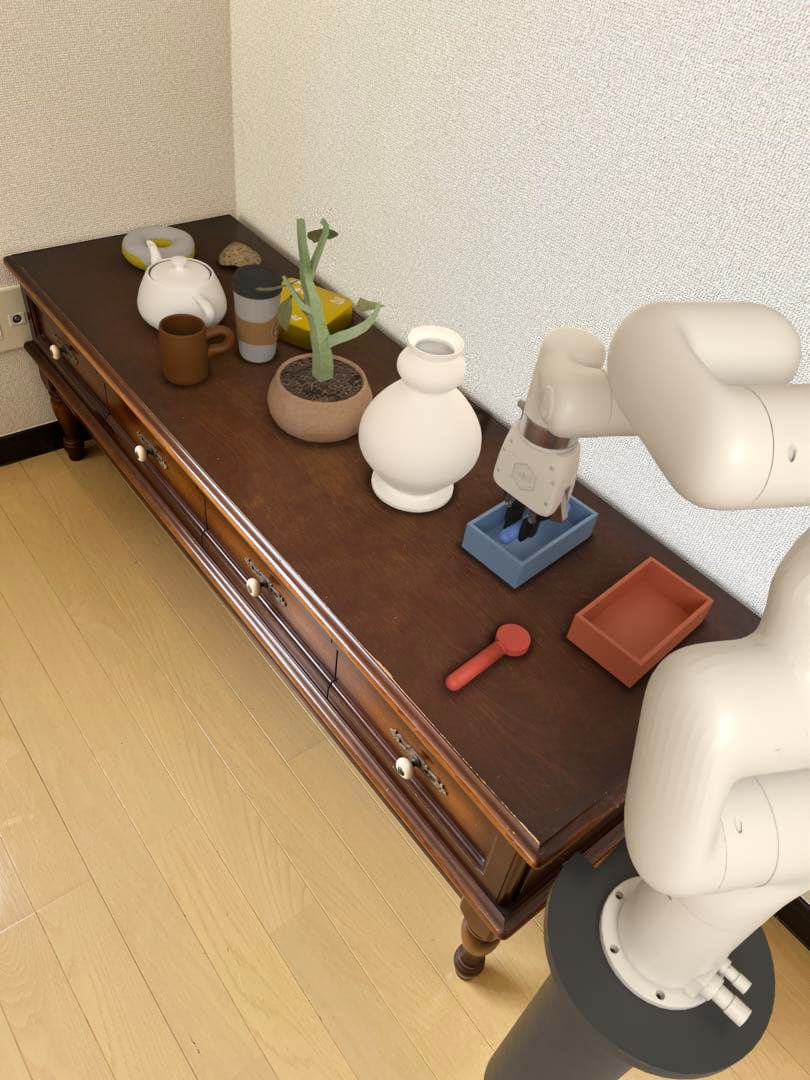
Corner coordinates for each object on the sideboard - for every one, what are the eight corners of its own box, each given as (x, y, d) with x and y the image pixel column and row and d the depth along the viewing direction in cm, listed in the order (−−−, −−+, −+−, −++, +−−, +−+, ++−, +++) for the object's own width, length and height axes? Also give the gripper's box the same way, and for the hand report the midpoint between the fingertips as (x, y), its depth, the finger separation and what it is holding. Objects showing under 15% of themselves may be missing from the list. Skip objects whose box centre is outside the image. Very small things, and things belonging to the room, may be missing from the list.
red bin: (640, 578, 116) (650, 556, 113) (701, 622, 111) (714, 600, 108) (565, 637, 107) (575, 614, 103) (629, 688, 102) (641, 666, 99)
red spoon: (459, 703, 97) (462, 693, 96) (433, 679, 99) (436, 669, 98) (535, 645, 105) (539, 635, 104) (510, 623, 107) (513, 614, 106)
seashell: (247, 268, 162) (217, 241, 162) (238, 289, 167) (209, 262, 167) (272, 255, 168) (243, 228, 168) (263, 275, 172) (235, 249, 172)
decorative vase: (390, 538, 116) (413, 390, 98) (333, 464, 126) (344, 318, 109) (492, 505, 124) (529, 362, 106) (430, 437, 134) (455, 297, 116)
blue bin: (537, 499, 126) (544, 476, 123) (589, 536, 121) (598, 513, 118) (461, 546, 116) (466, 523, 113) (514, 589, 112) (522, 566, 109)
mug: (234, 361, 143) (232, 312, 136) (237, 386, 137) (235, 337, 131) (162, 362, 140) (157, 312, 133) (162, 388, 135) (157, 337, 128)
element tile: (244, 326, 151) (244, 303, 148) (289, 295, 161) (289, 272, 158) (314, 354, 147) (315, 330, 144) (355, 320, 157) (357, 297, 154)
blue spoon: (511, 554, 112) (514, 544, 110) (487, 536, 114) (490, 525, 112) (574, 512, 119) (578, 502, 118) (551, 496, 121) (554, 486, 120)
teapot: (253, 342, 148) (252, 279, 139) (171, 363, 140) (165, 298, 131) (190, 281, 161) (186, 219, 152) (113, 296, 153) (104, 233, 145)
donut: (183, 241, 172) (181, 218, 169) (206, 272, 164) (204, 248, 161) (115, 249, 166) (112, 225, 163) (135, 281, 158) (133, 256, 155)
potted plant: (396, 427, 135) (420, 253, 114) (304, 461, 126) (311, 279, 105) (320, 360, 146) (329, 191, 125) (230, 387, 137) (224, 209, 116)
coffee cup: (273, 370, 142) (274, 291, 132) (227, 361, 142) (224, 280, 132) (287, 346, 148) (288, 268, 138) (242, 337, 148) (240, 258, 138)
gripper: (484, 404, 103) (459, 511, 116) (582, 470, 96) (545, 577, 109) (522, 385, 107) (494, 490, 120) (619, 447, 100) (579, 552, 113)
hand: (518, 530), depth 114 cm, fingers closed on blue spoon, 2 cm apart
